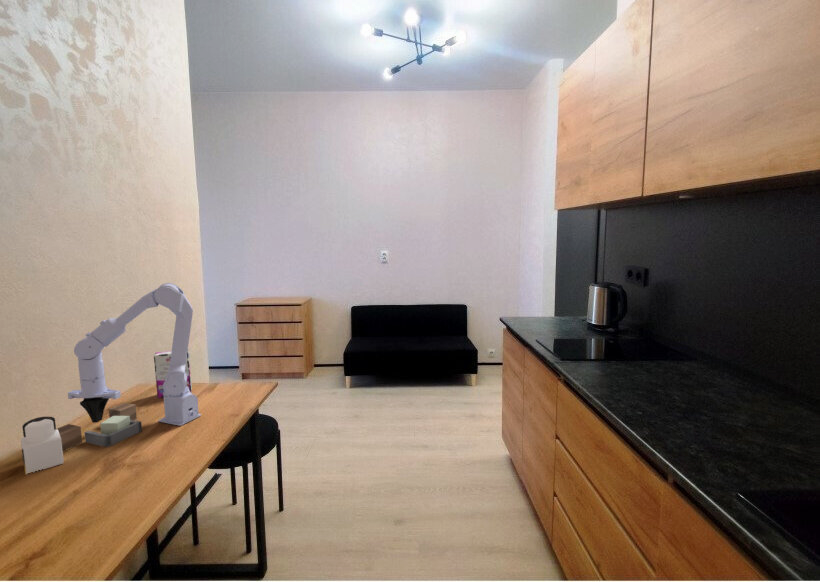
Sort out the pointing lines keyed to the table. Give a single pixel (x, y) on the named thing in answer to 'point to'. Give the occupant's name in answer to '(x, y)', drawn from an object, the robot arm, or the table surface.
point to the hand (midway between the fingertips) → (97, 421)
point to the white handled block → (41, 444)
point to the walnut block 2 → (124, 411)
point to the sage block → (114, 424)
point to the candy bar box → (167, 370)
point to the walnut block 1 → (70, 436)
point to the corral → (113, 435)
